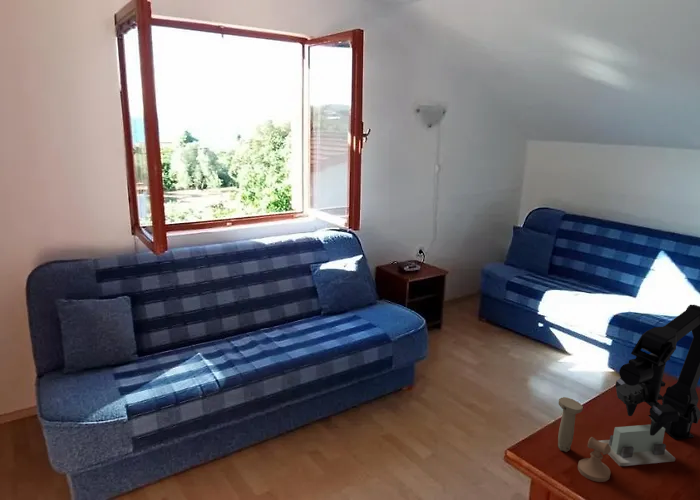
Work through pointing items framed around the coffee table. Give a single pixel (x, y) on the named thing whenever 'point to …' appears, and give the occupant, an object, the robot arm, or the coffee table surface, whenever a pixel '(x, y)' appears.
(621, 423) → the coffee table surface
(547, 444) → the coffee table surface
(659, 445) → the cabinet panel
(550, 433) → the coffee table surface
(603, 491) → the coffee table surface
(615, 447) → the cabinet door
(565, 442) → the handle
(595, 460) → the door knob
